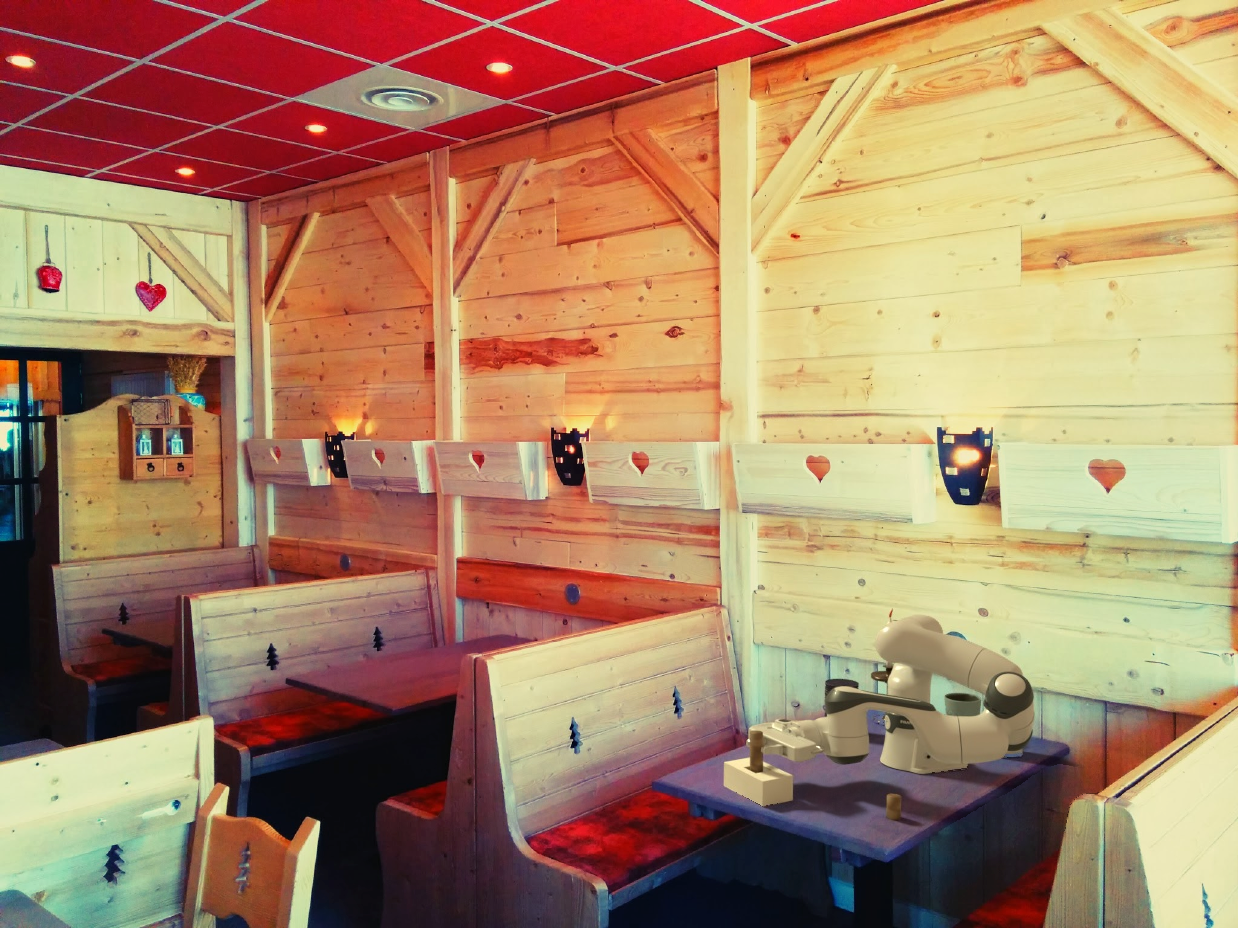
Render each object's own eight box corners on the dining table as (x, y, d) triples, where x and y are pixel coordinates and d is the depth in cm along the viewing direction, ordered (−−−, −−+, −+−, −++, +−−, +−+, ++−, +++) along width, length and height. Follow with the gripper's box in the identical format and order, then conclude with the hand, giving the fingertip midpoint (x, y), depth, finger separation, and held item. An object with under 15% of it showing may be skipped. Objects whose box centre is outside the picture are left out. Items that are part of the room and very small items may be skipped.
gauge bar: (753, 780, 263) (753, 756, 263) (792, 800, 249) (793, 775, 249) (723, 785, 258) (723, 761, 258) (762, 806, 244) (762, 781, 244)
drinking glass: (984, 736, 302) (985, 695, 301) (975, 745, 293) (975, 703, 293) (949, 730, 307) (950, 690, 307) (939, 739, 299) (939, 697, 299)
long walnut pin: (764, 791, 255) (763, 730, 254) (762, 795, 251) (761, 734, 251) (751, 790, 255) (750, 729, 255) (749, 794, 252) (748, 733, 252)
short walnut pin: (897, 814, 240) (897, 793, 240) (903, 819, 237) (903, 798, 237) (884, 815, 240) (884, 793, 239) (889, 820, 236) (890, 798, 236)
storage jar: (821, 727, 309) (821, 678, 309) (854, 728, 309) (854, 678, 309) (827, 737, 299) (828, 686, 299) (861, 738, 299) (862, 686, 299)
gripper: (827, 763, 250) (781, 772, 244) (775, 740, 268) (731, 748, 262) (827, 737, 250) (781, 745, 243) (776, 716, 268) (731, 723, 261)
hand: (755, 746), depth 253 cm, fingers open, 5 cm apart
